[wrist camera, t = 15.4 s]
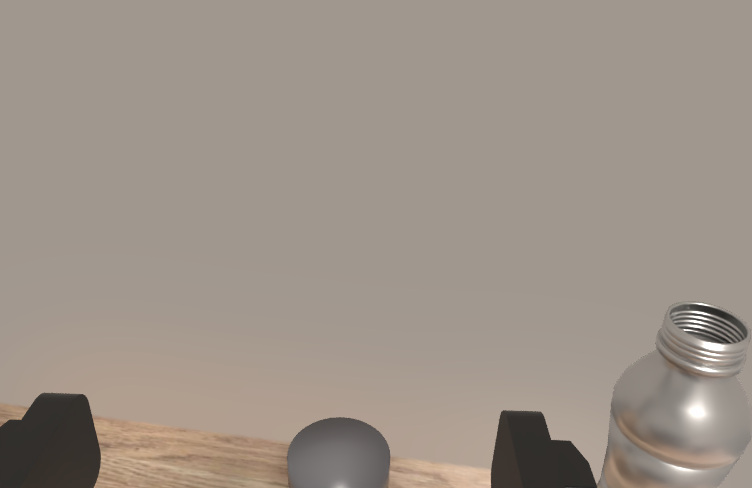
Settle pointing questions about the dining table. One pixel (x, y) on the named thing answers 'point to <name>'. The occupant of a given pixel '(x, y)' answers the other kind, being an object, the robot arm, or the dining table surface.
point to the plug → (338, 456)
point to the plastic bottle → (681, 405)
